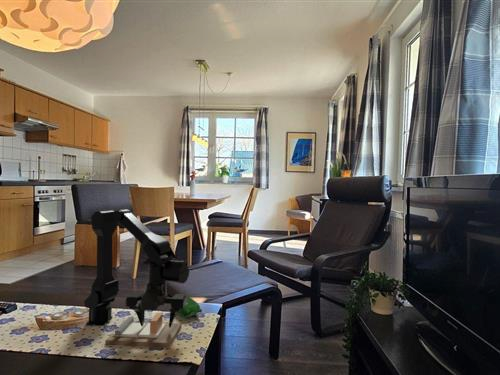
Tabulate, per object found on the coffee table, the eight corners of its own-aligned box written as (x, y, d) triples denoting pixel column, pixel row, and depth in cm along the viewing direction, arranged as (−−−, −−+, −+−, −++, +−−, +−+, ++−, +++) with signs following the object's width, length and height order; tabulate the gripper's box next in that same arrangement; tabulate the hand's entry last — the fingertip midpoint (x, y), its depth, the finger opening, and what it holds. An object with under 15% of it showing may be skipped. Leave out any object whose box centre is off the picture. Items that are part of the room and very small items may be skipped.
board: (105, 344, 91) (105, 340, 91) (124, 325, 104) (124, 321, 104) (169, 347, 91) (169, 343, 91) (181, 327, 104) (181, 323, 104)
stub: (138, 337, 94) (139, 321, 94) (148, 325, 102) (148, 311, 102) (157, 337, 93) (157, 322, 93) (165, 326, 101) (165, 311, 101)
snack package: (184, 323, 108) (185, 308, 108) (169, 308, 121) (170, 295, 121) (202, 318, 112) (203, 305, 112) (186, 304, 125) (186, 292, 125)
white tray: (111, 337, 93) (111, 330, 93) (125, 323, 103) (125, 316, 103) (136, 338, 93) (136, 331, 93) (148, 324, 103) (148, 317, 103)
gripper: (117, 285, 90) (116, 337, 90) (179, 288, 89) (177, 340, 89) (133, 274, 101) (132, 321, 101) (188, 277, 100) (186, 323, 100)
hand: (156, 326), depth 98 cm, fingers open, 9 cm apart
